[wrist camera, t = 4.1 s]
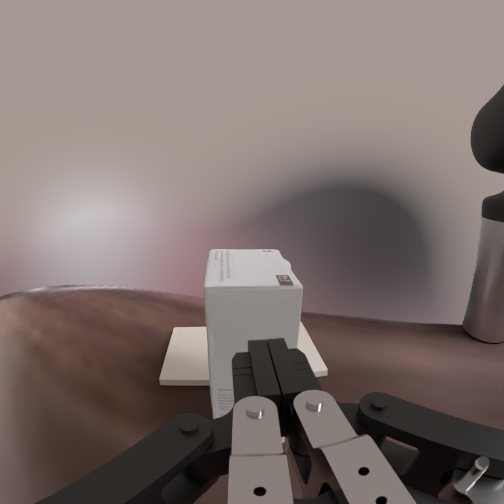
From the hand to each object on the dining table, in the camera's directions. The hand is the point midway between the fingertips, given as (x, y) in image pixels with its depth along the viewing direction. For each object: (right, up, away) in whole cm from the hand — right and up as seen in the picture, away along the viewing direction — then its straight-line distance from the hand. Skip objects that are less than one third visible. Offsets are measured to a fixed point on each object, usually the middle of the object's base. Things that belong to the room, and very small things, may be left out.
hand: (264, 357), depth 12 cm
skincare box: (-1, -11, +11) cm, 16 cm away
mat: (-2, -8, +22) cm, 24 cm away
